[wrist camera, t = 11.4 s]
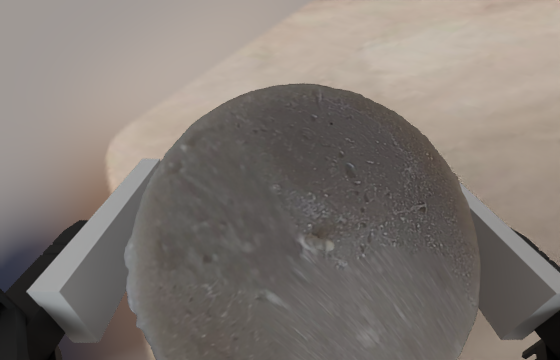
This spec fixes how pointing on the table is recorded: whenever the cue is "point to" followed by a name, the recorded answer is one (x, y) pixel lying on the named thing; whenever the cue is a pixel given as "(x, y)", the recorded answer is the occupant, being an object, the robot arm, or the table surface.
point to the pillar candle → (303, 236)
